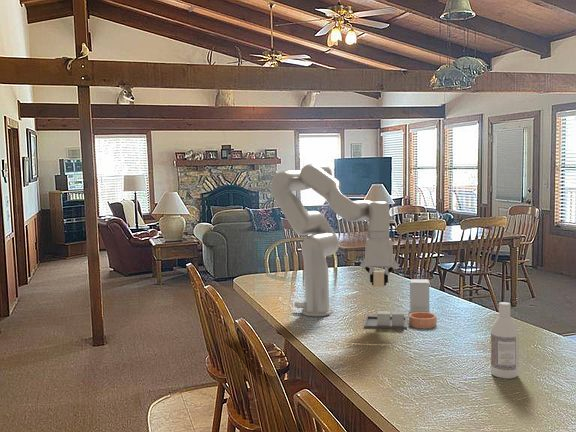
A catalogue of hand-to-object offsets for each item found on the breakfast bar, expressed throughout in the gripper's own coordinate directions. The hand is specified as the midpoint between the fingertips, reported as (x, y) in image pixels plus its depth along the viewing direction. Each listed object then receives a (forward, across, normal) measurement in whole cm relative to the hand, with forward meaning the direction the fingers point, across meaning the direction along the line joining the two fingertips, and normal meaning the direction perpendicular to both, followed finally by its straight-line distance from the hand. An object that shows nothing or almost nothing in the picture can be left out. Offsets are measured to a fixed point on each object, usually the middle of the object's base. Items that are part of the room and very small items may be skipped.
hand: (379, 284), depth 205 cm
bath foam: (+14, +36, -47) cm, 61 cm away
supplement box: (+15, +15, +17) cm, 27 cm away
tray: (+15, +3, -2) cm, 15 cm away
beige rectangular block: (0, 0, 0) cm, 0 cm away
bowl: (+14, +16, -1) cm, 21 cm away
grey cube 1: (+14, +2, -5) cm, 15 cm away
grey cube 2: (+14, +7, -5) cm, 17 cm away
